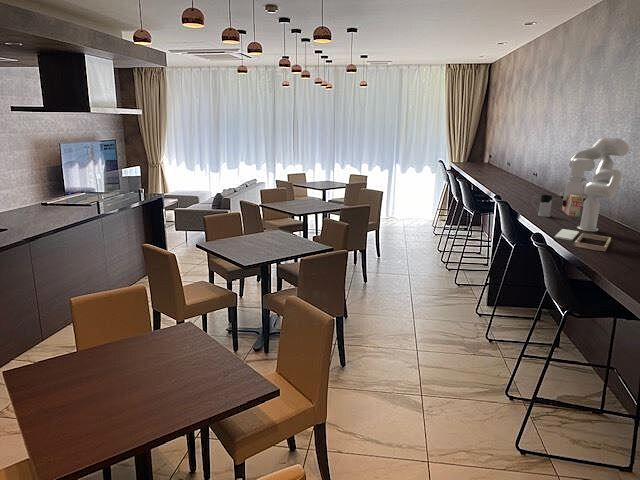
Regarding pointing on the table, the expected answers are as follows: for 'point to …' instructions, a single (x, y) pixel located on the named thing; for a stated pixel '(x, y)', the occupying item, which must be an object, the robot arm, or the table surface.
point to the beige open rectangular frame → (589, 246)
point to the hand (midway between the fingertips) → (571, 207)
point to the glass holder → (544, 205)
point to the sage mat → (567, 234)
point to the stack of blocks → (573, 205)
